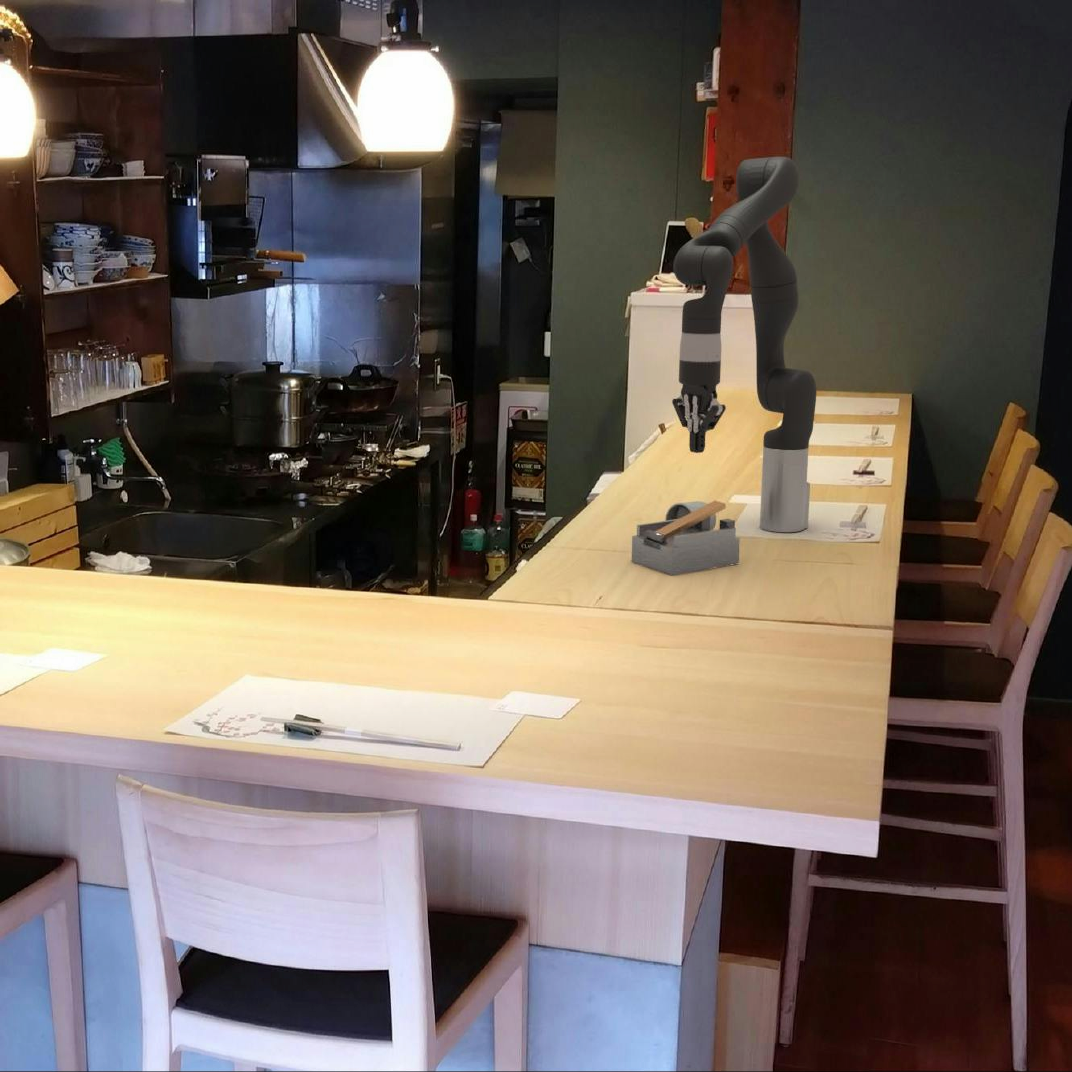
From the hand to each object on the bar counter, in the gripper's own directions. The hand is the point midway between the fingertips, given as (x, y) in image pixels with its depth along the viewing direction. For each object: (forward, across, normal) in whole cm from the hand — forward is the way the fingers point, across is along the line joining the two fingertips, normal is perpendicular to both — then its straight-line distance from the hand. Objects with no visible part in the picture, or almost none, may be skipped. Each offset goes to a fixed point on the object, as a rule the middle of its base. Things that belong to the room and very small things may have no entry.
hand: (696, 451), depth 249 cm
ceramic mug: (+21, +17, -12) cm, 29 cm away
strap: (+13, 0, +2) cm, 14 cm away
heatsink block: (+21, 0, +2) cm, 21 cm away
